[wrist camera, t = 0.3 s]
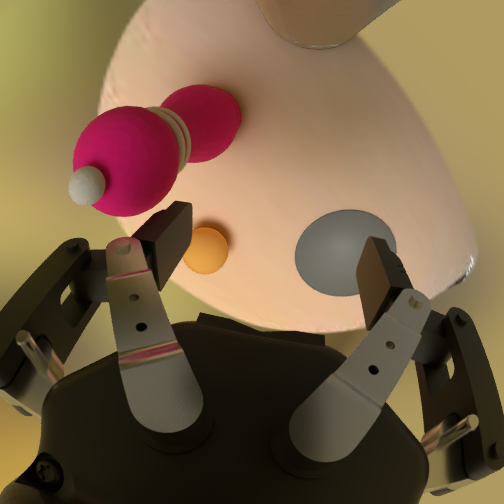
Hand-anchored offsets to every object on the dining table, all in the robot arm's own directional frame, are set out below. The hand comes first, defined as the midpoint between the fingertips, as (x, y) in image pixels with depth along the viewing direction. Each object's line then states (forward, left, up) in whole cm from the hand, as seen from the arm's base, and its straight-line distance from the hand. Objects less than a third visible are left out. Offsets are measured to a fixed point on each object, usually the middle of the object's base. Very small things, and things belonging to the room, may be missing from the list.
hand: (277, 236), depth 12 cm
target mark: (+13, +8, -18) cm, 23 cm away
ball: (+12, -9, -15) cm, 21 cm away
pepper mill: (-3, -8, -18) cm, 20 cm away
